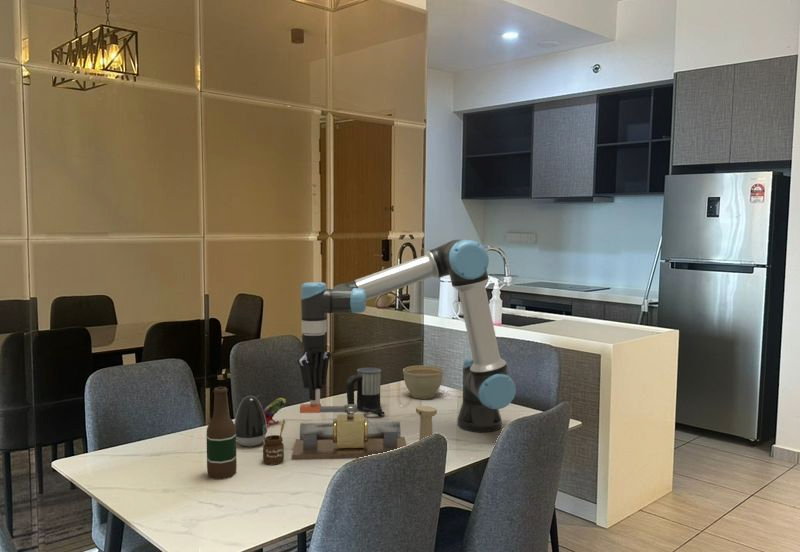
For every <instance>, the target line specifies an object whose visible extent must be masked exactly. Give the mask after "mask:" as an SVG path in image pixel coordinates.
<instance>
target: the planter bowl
mask: <svg viewBox="0 0 800 552" xmlns="http://www.w3.org/2000/svg"><path fill="white" fill-rule="evenodd" d="M402 373H403V380H404V383H405V386H406V388H407V390H408V391H409V393H410V397H412V398H414V399H420V400H429V399H433V398H434V397H435V396H436V393H437V392H438V390H439V389H440V388H441V384H442V381H443V373H444V369H443V368H441V367H438V366H432V365H411V366H407V367H405V368H403V369H402Z"/></svg>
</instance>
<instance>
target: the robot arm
mask: <svg viewBox="0 0 800 552" xmlns="http://www.w3.org/2000/svg"><path fill="white" fill-rule="evenodd" d="M489 262H490V260H489V255H488V252H487V250H486V248H485V247H484V246H483V245H482V244H480V243H479V242H477V241H475V240H472V239H453V240H451V241H448V242H446V243H444V244H442V245H440V246H437V247H435V248H432V249H429V250H428V251H426V253H425V255H422V256H419V257H416V258H413V259H409V260H407V261H405V262H402V263H399V264H397V265H396V264H395V265H394V266H391V267H387V268H385V269H382V270H380V271H377V272H374V273H372V274H368V275H366V276H362V277H359V278H357V279H355V280H352V281H349V282H346V283H340V284H337V285H335V286H334V287H333V288H327V285H326V282H320V281H319V282H318V281H317V282H316V281H314V282H313V281H312V282H304V283H303V284H302V285H301V287H300V290H301V291H300V310H301V313H300V314H301V333H302V335H301V346H302V347H303V353H302V357H301V358H297V364H298V366H299V368H300V369H299V370H300V373H301V379H302V383H303V388H304V389H307V390H308V395H309V400H310V402H309V404H321V396H322V395H321V394H322V389H325V385H326V384H327V383H326V382H327V376H328V370H329V369H328V368H329V361H330V360H331V356H332V354H331V353H330V352H326V348H325V347H326V346H327V345H328V344H327V343H328V340H327V338H328V336H327V334H326V333H327V331H328V328H327V327H328V326H327V325H328V323H327V322H328V321H327V315H328V314H354V315H355V314H359V313H361V314H362V313H364V312H365V311H366V307H367V301H368V300H371V299H373V298H376V297H380V296H382V295H385V294H389V293H390V292H394V291H397V290H399V289H401V288H402V289H403V288H404V287H407V286H411V285H414V284H417V283H419V282H421V281H425V280H427V279H431V278H433V277H434V278H436V279H439V278H442V277H446V276H449V277H450V282H451V286H452V287H453V288H454V289H455V290H456V291H458V292H457V293H458V297H459V300H460V306H461V310H462V315H463V320H464V323H465V328H466V333H467V339H468V343H469V346H470V347H469V348H470V351H471V356H472V358H468V359H464V361H463V363H462V369H461V370H462V403H461V407H460V409H459V412H458V415H457V420H456V422H457V426H459V427H458V428H460V429H462V430H465V431H469V432H478V433H489V432H494V431H499V430H500V429H502V426H503V419H502V416H501V413H500V409H504V408H506V407H508V406H509V404H511V403H512V402H513V400H514V398H515V396H516V384H515V381H514V380H513V379H512V378H511V376H510V375H509V371H508V365H507V364H508V363H507V361H506V360H504V359H503V358H501V355H500V350H499V345H498V341H497V335H496V330H495V326H494V322H493V317H492V312H491V308H490V303H489V298H488V292H487V289H486V284H487V282H488V281H489V273H488V268H489Z"/></svg>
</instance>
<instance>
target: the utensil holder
mask: <svg viewBox="0 0 800 552" xmlns="http://www.w3.org/2000/svg"><path fill="white" fill-rule="evenodd" d="M285 421H286V419H284V418H283V419H282V423H281V426H280V432H279V434H273V433H272V429H271V428H272V427H271V426H270V427H269V428H268V429H267V430H266V431H267V432H270V433H267V435H266V436H265V439H264V440H263V443H264V444H263V447H262V461H263V463H264V464H266V465H269V464H275V465H279V464H282V463H283V462H284V460H285V446H284V443H283V436H282V432H283V431H284V428H285ZM267 424H268V423H267ZM267 424H266V425H267ZM266 425H264V426H266ZM264 426H263V427H264ZM264 428H265V427H264ZM263 430H264V429H263ZM264 431H265V430H264ZM263 434H264V433H263ZM281 462H282V463H281Z"/></svg>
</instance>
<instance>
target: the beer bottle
mask: <svg viewBox="0 0 800 552" xmlns="http://www.w3.org/2000/svg"><path fill="white" fill-rule="evenodd" d="M228 391H229V390H228V388H227V386H217V387H215V388H214V389H213V395H214V400H213V412H212V413H213V414H212V418H211V419H210V421H209V423H208V425H207V428H206V435H205V436H206V438H205V439H206V470H207V475H208V476H209V478H211V479H212V478H214V480H225V479H228V477H229V478H232V477H233V476H234V475H235V474H236V473H237V468H238V467H237V465H238V464H237V440H236V428H235V425H234V423H235V422H234V421H233V420H232V418H231V417H230V414H229V404H228V394H227V392H228ZM224 478H225V479H224Z"/></svg>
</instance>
